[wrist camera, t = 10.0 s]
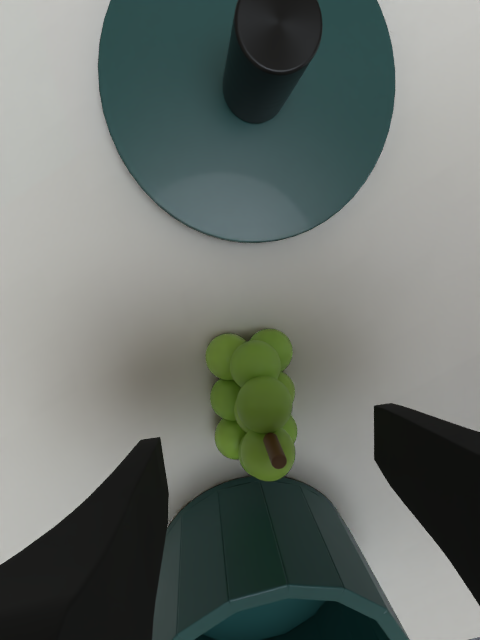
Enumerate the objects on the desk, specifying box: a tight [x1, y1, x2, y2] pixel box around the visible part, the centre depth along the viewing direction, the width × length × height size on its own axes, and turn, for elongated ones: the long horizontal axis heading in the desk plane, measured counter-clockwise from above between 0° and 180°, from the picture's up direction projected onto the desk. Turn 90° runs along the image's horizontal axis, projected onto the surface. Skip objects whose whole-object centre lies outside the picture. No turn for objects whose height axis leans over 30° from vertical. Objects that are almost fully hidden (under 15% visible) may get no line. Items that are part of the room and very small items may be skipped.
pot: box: [152, 476, 409, 640], centre depth 16 cm, size 10×10×6 cm
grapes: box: [206, 329, 297, 481], centre depth 14 cm, size 6×4×6 cm, turn 5°
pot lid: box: [98, 0, 395, 243], centre depth 12 cm, size 11×11×5 cm
